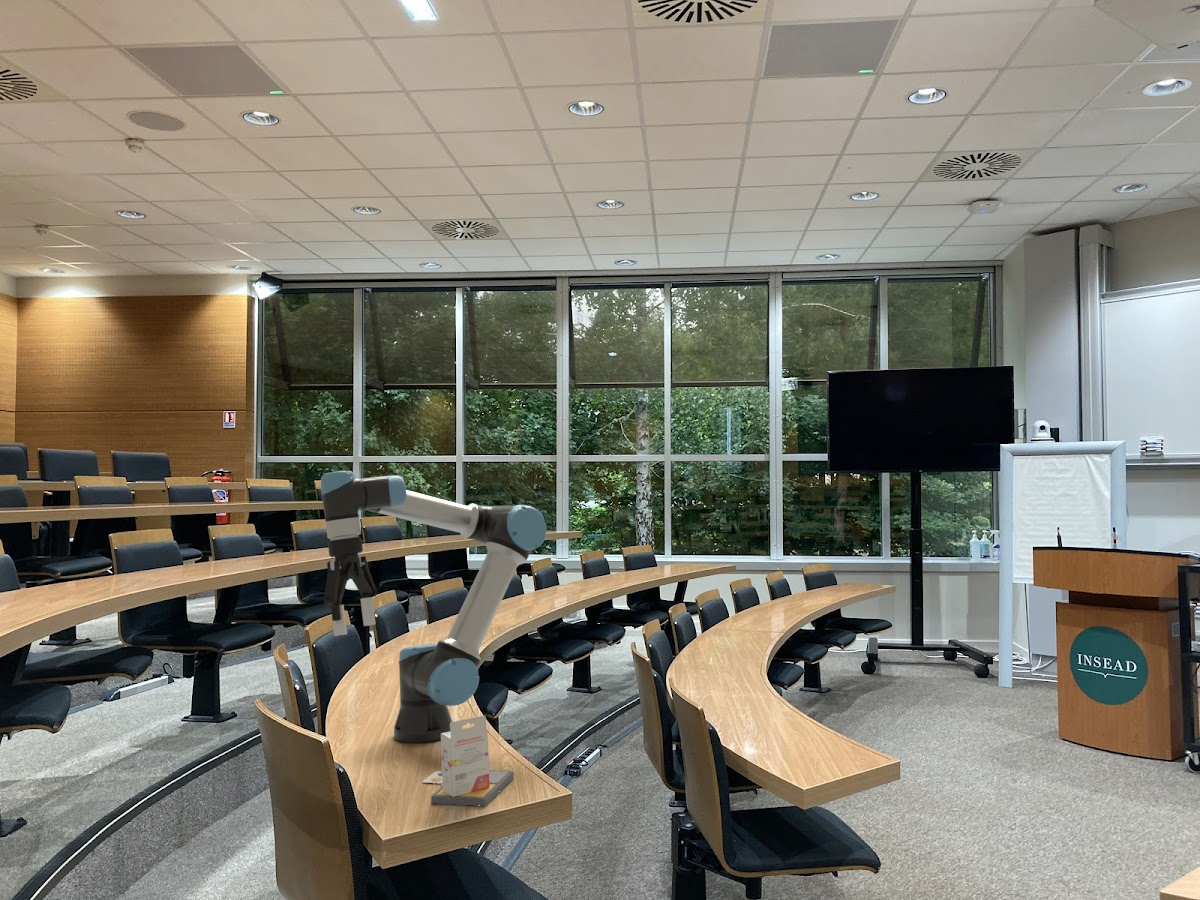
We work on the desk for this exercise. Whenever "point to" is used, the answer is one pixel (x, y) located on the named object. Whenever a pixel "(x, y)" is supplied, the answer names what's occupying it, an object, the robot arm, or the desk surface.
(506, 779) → the pad board
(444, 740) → the ink cartridge box
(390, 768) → the desk surface
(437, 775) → the pattern card
